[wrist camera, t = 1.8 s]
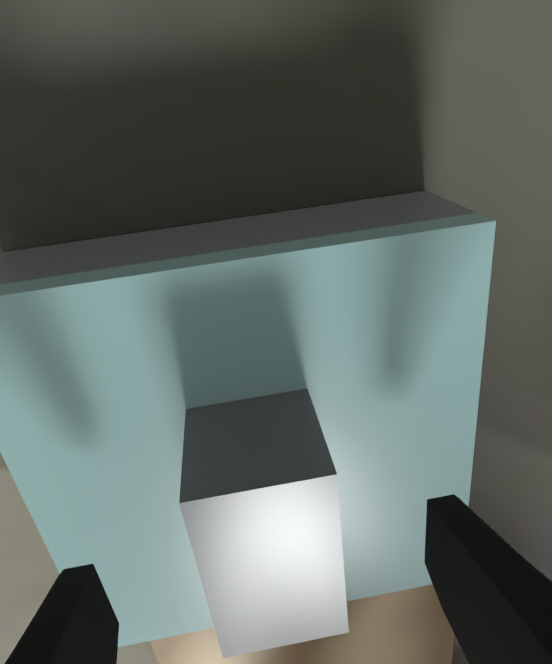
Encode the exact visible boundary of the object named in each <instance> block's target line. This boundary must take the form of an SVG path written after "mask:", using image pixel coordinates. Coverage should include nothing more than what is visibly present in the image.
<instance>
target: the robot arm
mask: <svg viewBox="0 0 552 664" xmlns="http://www.w3.org/2000/svg"><path fill="white" fill-rule="evenodd" d="M424 562H425V565H426V568H427V570H428V573H429V576H430V578H431V581H432V584H433V586H434V589H435V592H436V594H437V597H438V599H439V602H440V604H441V607H442V609H443V612H444V614H445V616H446V618H447V620H448V622H449V624H450V626H451V628H452V630H453V632H454V634H455V636H456V638H457V640H458V642H459V644H460V646H461V648H462V650H463V652H464V654H465V656H466V658H467V660H468V662H469V664H552V582H551V581H550V580H549V579H548V578H547V577H545V576H544V575H543V574H542V573H541V572H540V571H538V570H537V569H536V568H535V567H534V566H533V565H531V564H530V563H529V562H528V561H527V560H526V559H524V558H523V557H522V556H521V555H520V554H519V553H518V552H517V551H515V550H514V549H513V548H512V547H511V546H510V545H509V544H508V543H507V542H505V541H504V540H503V539H502V538H501V537H500V536H499V535H498V534H497V533H496V532H495V531H493V530H492V529H491V528H490V527H489V526H488V525H487V524H486V523H485V522H484V521H483V520H482V519H481V518H480V517H478V516H477V515H476V514H475V513H474V512H473V511H472V510H471V509H470V508H469V507H468V506H467V505H466V504H465V503H464V502H463V501H462V500H461V499H460V498H459V497H457V496H456V495H454V494H453V495H447V496H442V497H437V498H432V499H427V512H426V536H425V560H424ZM118 634H119V622H118V620H117V617H116V615H115V613H114V610H113V608H112V606H111V603H110V601H109V599H108V597H107V594H106V592H105V590H104V587H103V585H102V583H101V580H100V578H99V576H98V574H97V571H96V569H95V567H94V564H88V565H83V566H78V567H72V568H67V569H63V571H62V572H61V573H60V574H59V576H58V578H57V579H56V581H55V583H54V584H53V586H52V588H51V589H50V591H49V593H48V594H47V596H46V598H45V599H44V601H43V603H42V604H41V606H40V608H39V609H38V611H37V613H36V614H35V616H34V618H33V619H32V621H31V622H30V624H29V626H28V627H27V629H26V631H25V632H24V634H23V635H22V637H21V639H20V640H19V642H18V644H17V645H16V647H15V648H14V650H13V652H12V653H11V655H10V656H9V658H8V659H7V661H6V662H5V664H116V661H117V649H118Z"/></svg>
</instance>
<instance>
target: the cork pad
mask: <svg viewBox="0 0 552 664" xmlns="http://www.w3.org/2000/svg"><path fill="white" fill-rule="evenodd" d="M347 613H348V627H349V633H344V634H339V635H334V636H329V637H325V638H320V639H315V640H310V641H305V642H300V643H295V644H290V645H286V646H281V647H276V648H271V649H266V650H261V651H256V652H251V653H247V654H242V655H237V656H232V657H227V658H223V655H222V652H221V648H220V645H219V641H218V638H217V634H216V631H215V628H212V629H207V630H202V631H197V632H192V633H187V634H182V635H177V636H172V637H167V638H162V639H157V640H152V641H150V643H151V646H152V648H153V651H154V653H155V656H156V658H157V661H158V663H159V664H452V657H453V646H454V636H455V634H454V632H453V630H452V628H451V626H450V624H449V622H448V620H447V618H446V616H445V614H444V612H443V609H442V607H441V604H440V602H439V599H438V597H437V594H436V592H435V589H434V586H433V584H431V585H426V586H421V587H416V588H411V589H406V590H401V591H396V592H391V593H386V594H381V595H376V596H371V597H366V598H361V599H356V600H351V601H347Z"/></svg>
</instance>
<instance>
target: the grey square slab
mask: <svg viewBox="0 0 552 664" xmlns="http://www.w3.org/2000/svg"><path fill="white" fill-rule="evenodd" d="M474 213H476V212H474V211H472V210H469V209H467V208H465V207H462V206H460V205H458V204H455V203H453V202H451V201H448V200H446V199H444V198H441V197H439V196H436V195H434V194H432V193H429V192H427V191H420V192H413V193H406V194H399V195H392V196H385V197H378V198H372V199H365V200H358V201H351V202H344V203H337V204H330V205H323V206H317V207H310V208H303V209H296V210H289V211H282V212H275V213H268V214H262V215H255V216H248V217H241V218H234V219H227V220H220V221H213V222H207V223H200V224H193V225H186V226H179V227H172V228H165V229H158V230H152V231H145V232H138V233H131V234H124V235H117V236H110V237H103V238H97V239H90V240H83V241H76V242H69V243H62V244H55V245H48V246H42V247H35V248H28V249H21V250H14V251H7V252H1V253H0V284H6V283H13V282H19V281H26V280H33V279H40V278H46V277H53V276H60V275H66V274H73V273H80V272H86V271H93V270H100V269H106V268H113V267H120V266H126V265H133V264H140V263H146V262H153V261H160V260H166V259H173V258H180V257H186V256H193V255H200V254H207V253H213V252H220V251H227V250H233V249H240V248H247V247H253V246H260V245H267V244H273V243H280V242H287V241H293V240H300V239H307V238H313V237H320V236H327V235H333V234H340V233H347V232H354V231H360V230H367V229H374V228H380V227H387V226H394V225H400V224H407V223H414V222H420V221H427V220H434V219H440V218H447V217H454V216H460V215H467V214H474Z"/></svg>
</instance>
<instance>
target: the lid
mask: <svg viewBox="0 0 552 664" xmlns="http://www.w3.org/2000/svg"><path fill="white" fill-rule="evenodd" d="M495 226H496V221H495V220H493V219H491V218H488V217H486V216H484V215H481V214H479V213H474V214H467V215H460V216H454V217H447V218H440V219H434V220H427V221H420V222H414V223H407V224H400V225H394V226H387V227H380V228H374V229H367V230H360V231H354V232H347V233H340V234H333V235H327V236H320V237H313V238H307V239H300V240H293V241H287V242H280V243H273V244H267V245H260V246H253V247H247V248H240V249H233V250H227V251H220V252H213V253H207V254H200V255H193V256H186V257H180V258H173V259H166V260H160V261H153V262H146V263H140V264H133V265H126V266H120V267H113V268H106V269H100V270H93V271H86V272H80V273H73V274H66V275H60V276H53V277H46V278H40V279H33V280H26V281H19V282H13V283H6V284H0V452H1V455H2V457H3V459H4V461H5V463H6V465H7V467H8V469H9V471H10V473H11V475H12V477H13V479H14V481H15V483H16V485H17V487H18V489H19V491H20V494H21V496H22V498H23V500H24V502H25V504H26V506H27V508H28V510H29V512H30V514H31V516H32V518H33V520H34V522H35V524H36V526H37V528H38V530H39V533H40V535H41V537H42V539H43V541H44V543H45V545H46V547H47V549H48V551H49V553H50V555H51V557H52V559H53V561H54V563H55V565H56V567H57V569H58V572H59V574H60V573H61V572H62V571H63V569H67V568H72V567H78V566H83V565H88V564H94V567H95V569H96V571H97V574H98V576H99V578H100V580H101V583H102V585H103V587H104V590H105V592H106V594H107V597H108V599H109V601H110V603H111V606H112V608H113V610H114V613H115V615H116V617H117V620H118V622H119V634H118V647H122V646H127V645H132V644H137V643H142V642H147V641H152V640H157V639H162V638H167V637H172V636H177V635H182V634H187V633H192V632H197V631H202V630H207V629H212V628H215V631H216V634H217V638H218V641H219V645H220V648H221V652H222V655H223V658H227V657H232V656H237V655H242V654H247V653H251V652H256V651H261V650H266V649H271V648H276V647H281V646H286V645H290V644H295V643H300V642H305V641H310V640H315V639H320V638H325V637H329V636H334V635H339V634H344V633H349V627H348V613H347V601H351V600H356V599H361V598H366V597H371V596H376V595H381V594H386V593H391V592H396V591H401V590H406V589H411V588H416V587H421V586H426V585H431V584H432V581H431V578H430V576H429V573H428V570H427V568H426V565H425V562H424V560H425V536H426V512H427V499H432V498H437V497H442V496H447V495H453V494H454V495H456V496H457V497H459V498H460V499H461V500H462V501H463V502H464V503H465V504H466V505H467V506H468V507H469V497H470V487H471V476H472V466H473V456H474V445H475V435H476V424H477V414H478V404H479V393H480V383H481V372H482V362H483V351H484V341H485V331H486V320H487V310H488V299H489V289H490V278H491V268H492V258H493V247H494V237H495Z"/></svg>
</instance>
